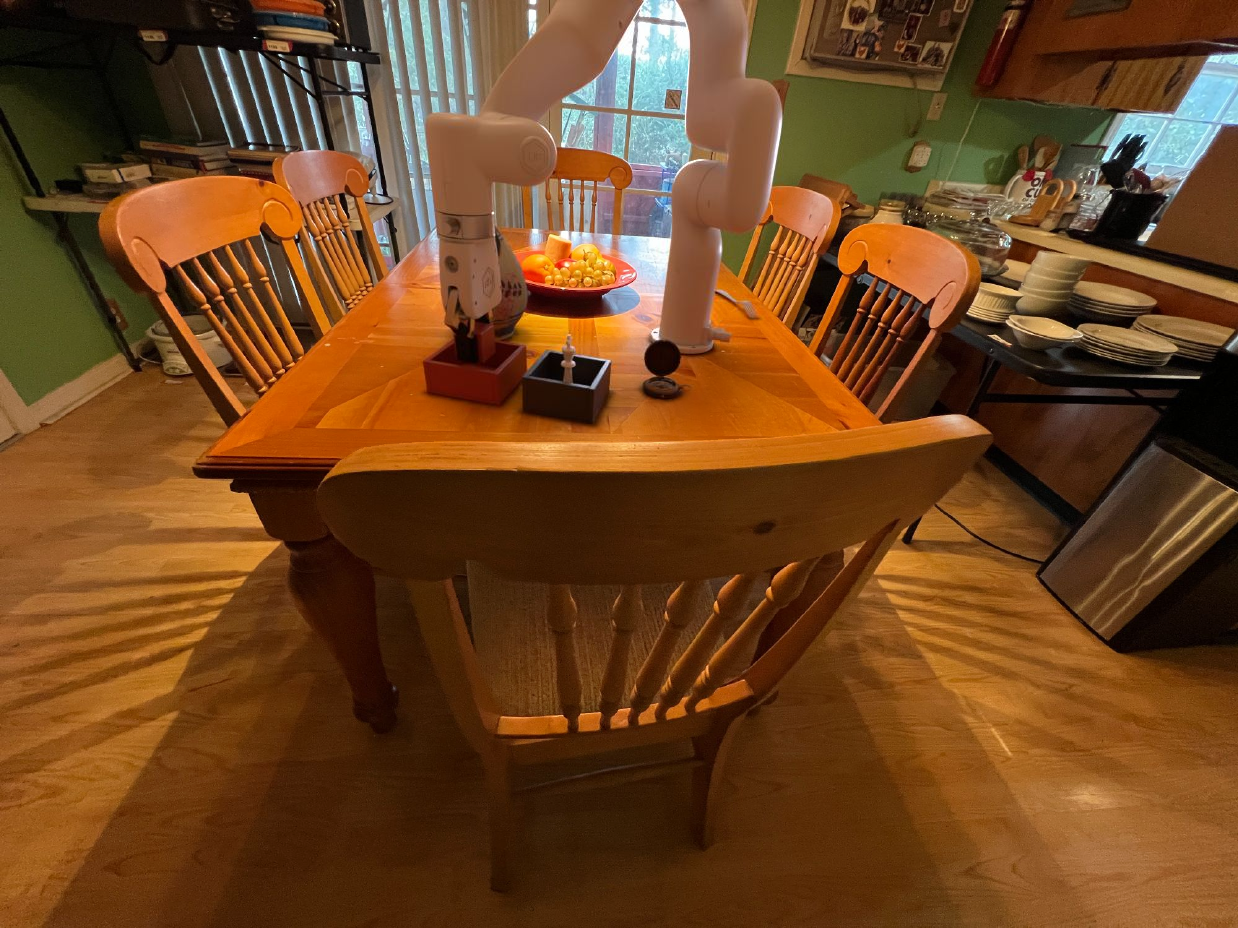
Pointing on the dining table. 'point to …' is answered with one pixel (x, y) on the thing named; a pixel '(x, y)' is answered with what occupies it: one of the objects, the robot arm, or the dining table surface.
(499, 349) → the red bin
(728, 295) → the fork
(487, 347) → the red block
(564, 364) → the chess piece
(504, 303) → the ceramic jug
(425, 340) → the dining table surface
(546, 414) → the charcoal bin
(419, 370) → the dining table surface
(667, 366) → the compass
